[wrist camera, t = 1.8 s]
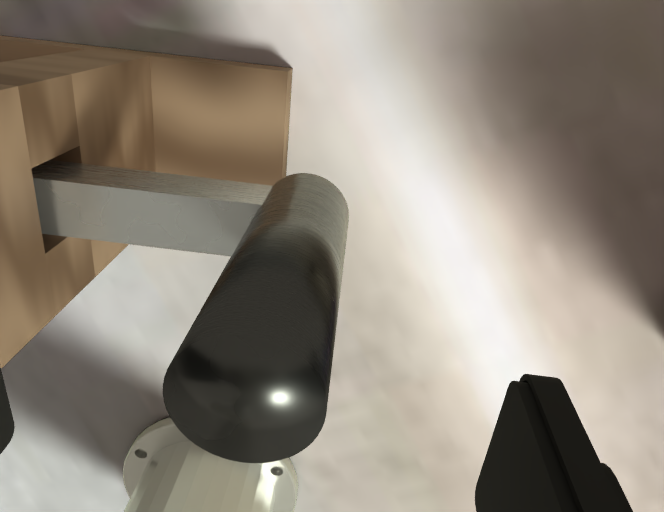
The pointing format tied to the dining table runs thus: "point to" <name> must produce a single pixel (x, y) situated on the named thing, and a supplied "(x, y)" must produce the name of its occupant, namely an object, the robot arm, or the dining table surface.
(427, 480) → the dining table surface
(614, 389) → the dining table surface
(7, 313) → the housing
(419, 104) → the dining table surface
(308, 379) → the shaft
